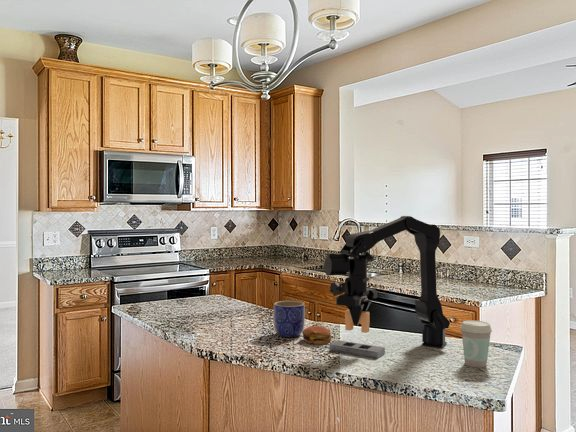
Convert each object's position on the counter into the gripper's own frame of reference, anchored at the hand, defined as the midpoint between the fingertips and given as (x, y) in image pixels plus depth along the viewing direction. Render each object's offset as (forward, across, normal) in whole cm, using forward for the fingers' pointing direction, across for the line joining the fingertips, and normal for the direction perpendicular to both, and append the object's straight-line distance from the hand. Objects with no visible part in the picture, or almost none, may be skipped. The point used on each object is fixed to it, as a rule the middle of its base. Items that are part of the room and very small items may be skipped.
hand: (357, 324), depth 159 cm
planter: (+9, -7, -29) cm, 31 cm away
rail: (+9, 0, 0) cm, 9 cm away
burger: (+9, -5, -17) cm, 20 cm away
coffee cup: (+9, -7, +34) cm, 36 cm away
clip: (+2, 0, 0) cm, 2 cm away
